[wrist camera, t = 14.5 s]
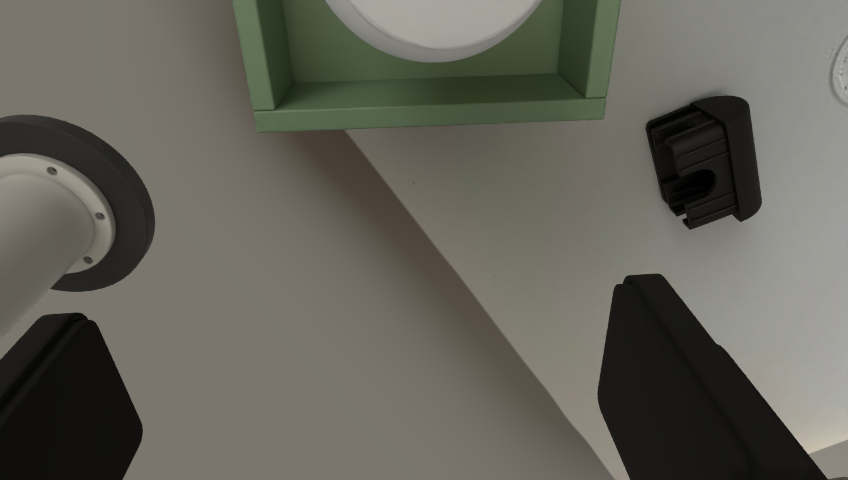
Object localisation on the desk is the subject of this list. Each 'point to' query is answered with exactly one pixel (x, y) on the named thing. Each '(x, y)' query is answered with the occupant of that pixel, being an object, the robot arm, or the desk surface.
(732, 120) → the end cap
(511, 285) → the desk surface
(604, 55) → the green storage bin
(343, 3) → the pill bottle
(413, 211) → the desk surface
